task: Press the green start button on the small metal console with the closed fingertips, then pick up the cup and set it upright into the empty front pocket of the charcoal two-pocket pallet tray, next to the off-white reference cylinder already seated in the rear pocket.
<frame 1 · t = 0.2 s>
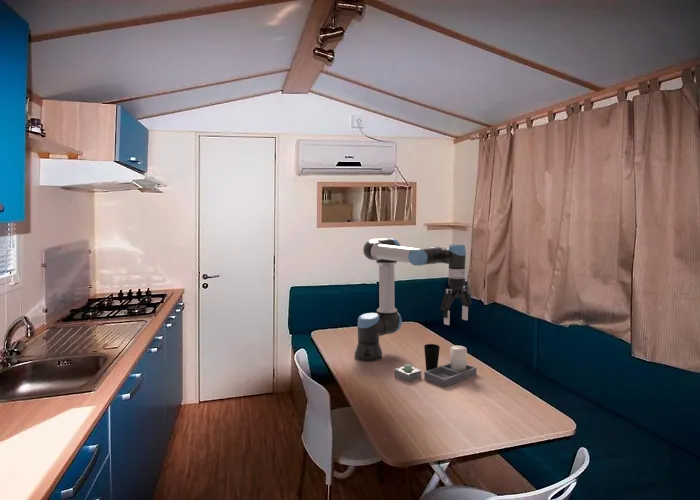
hand: (455, 322, 195), 27 cm above the table, fingers open, 13 cm apart
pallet: (450, 376, 200), on the table
console: (407, 376, 201), on the table
start button: (407, 369, 200), point 4 cm above the table, slide at 0.0 cm
cup: (431, 369, 209), on the table
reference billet: (458, 371, 203), resting on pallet
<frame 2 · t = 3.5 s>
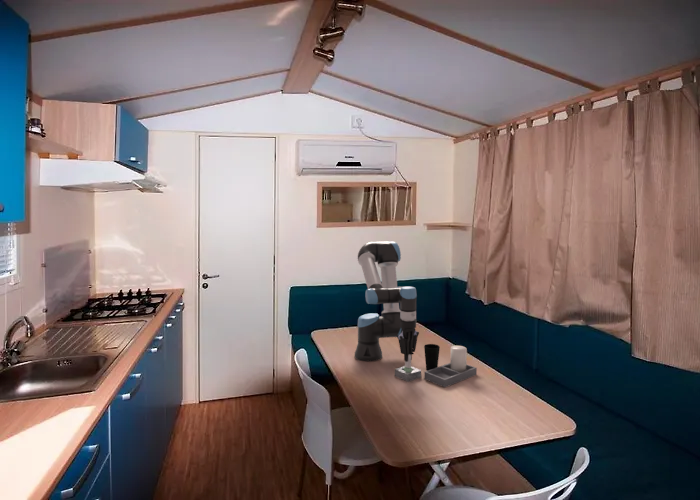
hand: (407, 367, 200), 5 cm above the table, fingers closed
start button: (407, 371, 200), point 3 cm above the table, slide at 1.0 cm, touching gripper
everything else where it was.
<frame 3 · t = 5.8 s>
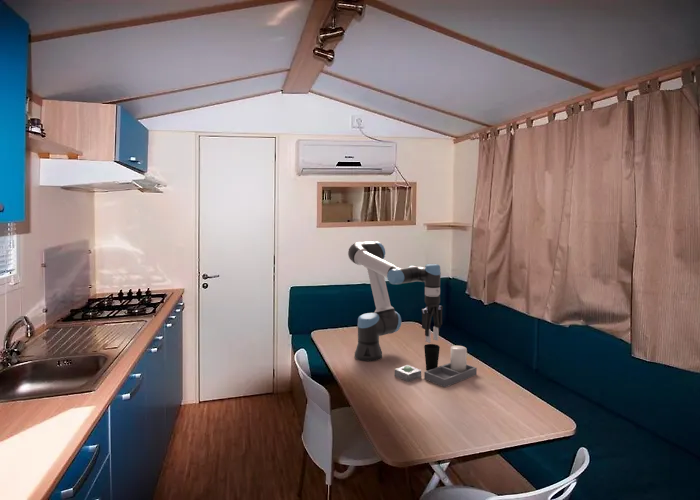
hand: (431, 340, 208), 15 cm above the table, fingers open, 5 cm apart
start button: (407, 371, 200), point 3 cm above the table, slide at 1.1 cm
everything else where it was.
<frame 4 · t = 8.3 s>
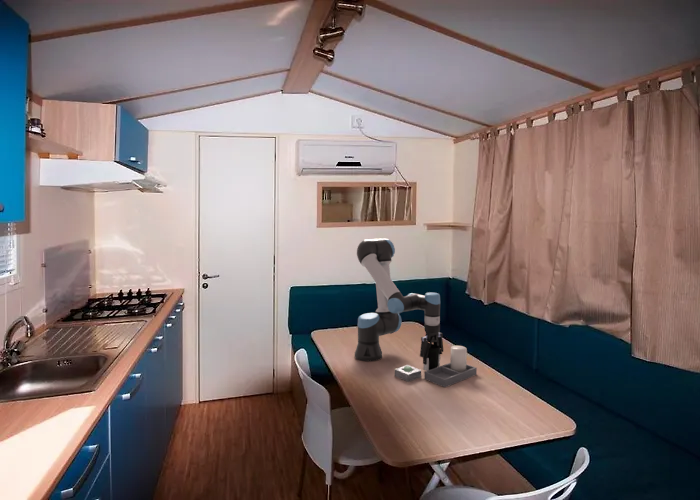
hand: (431, 368, 209), 1 cm above the table, fingers closed on cup, 8 cm apart
cup: (431, 369, 209), on the table, touching gripper
everything else where it was.
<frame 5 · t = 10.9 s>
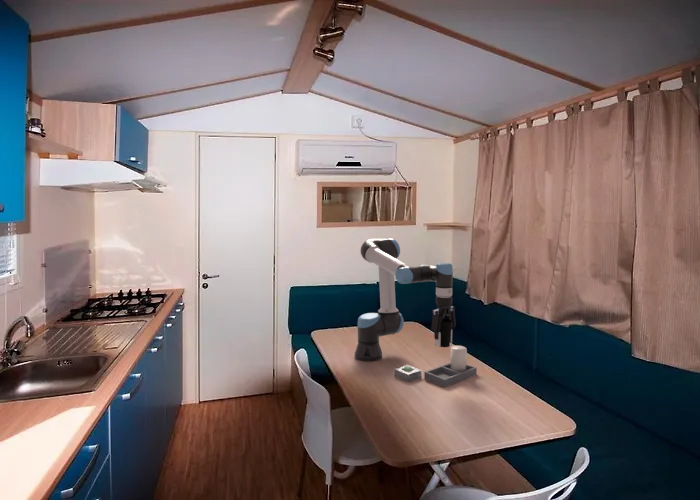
hand: (443, 343, 195), 17 cm above the table, fingers closed on cup, 8 cm apart
cup: (443, 345, 195), point 16 cm above the table, touching gripper
everything else where it was.
when the fingers open (5 cm above the table, at t = 13.6 s): cup drops 3 cm, resting on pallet.
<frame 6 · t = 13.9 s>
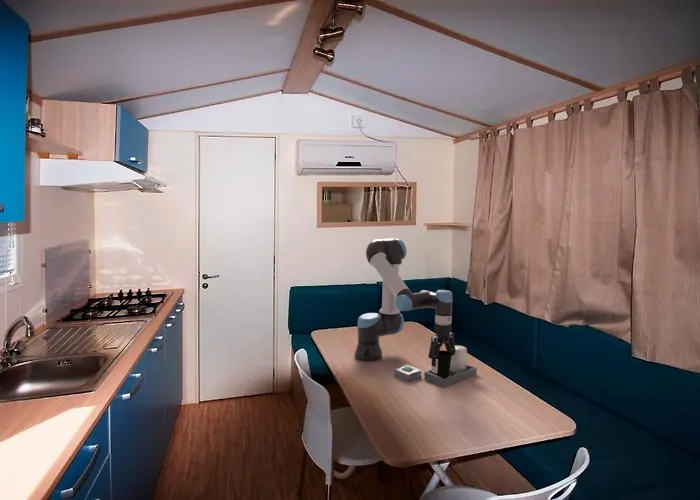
hand: (441, 370, 196), 5 cm above the table, fingers open, 9 cm apart
cup: (442, 378, 196), point 1 cm above the table, touching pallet
everything else where it was.
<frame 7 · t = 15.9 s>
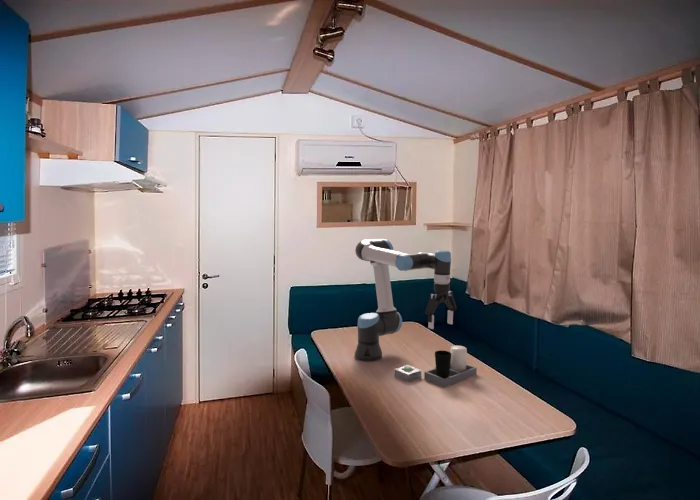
hand: (440, 326, 201), 24 cm above the table, fingers open, 13 cm apart
nothing on the table moved.
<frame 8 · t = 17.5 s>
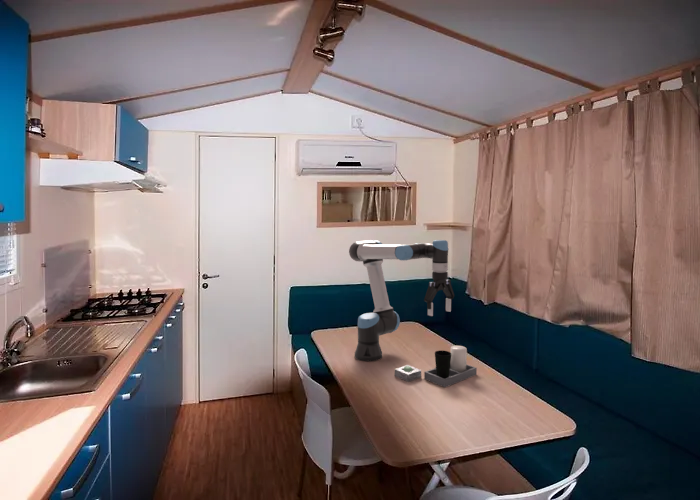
hand: (439, 313, 207), 29 cm above the table, fingers open, 13 cm apart
nothing on the table moved.
at the end: cup inside the target area (0.2 cm from its centre), point 0.8 cm above the table; cup tilted 0°; start button slide at 1.1 cm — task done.
